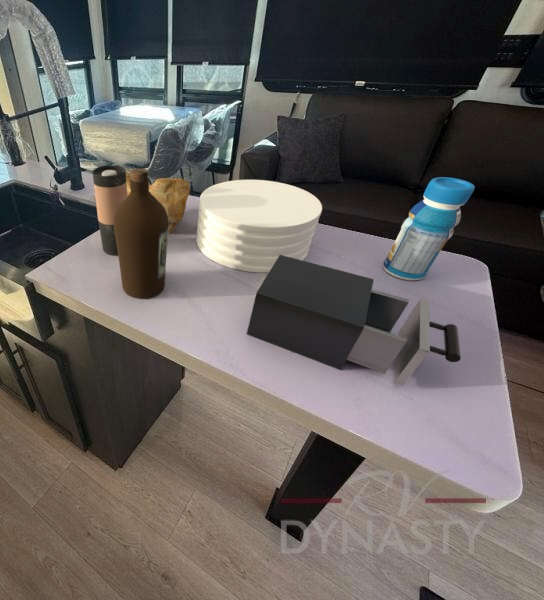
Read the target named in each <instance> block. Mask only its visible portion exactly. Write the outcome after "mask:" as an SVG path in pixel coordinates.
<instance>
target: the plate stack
mask: <svg viewBox="0 0 544 600" xmlns="http://www.w3.org/2000/svg"><path fill="white" fill-rule="evenodd" d="M322 212H323V205H322V202H321V201H320V200H319V199H318V197H317V196H315V195H314V194H312V193H310V192H309V191H307V190H305V189H302V188H300V187H298V186H295V185H291V184H287V183H283V182H278V181H274V180H265V179H235V180H228V181H223V182H220V183H215V184H213V185H211V186H209V187H207V188H206V189H204V190H203V192H202V193H201V194H200V196H199V206H198V219H197V228H196V229H197V230H196V245H197V248H198V249H199V251H200V252H201V253H202V254H203V255H204V256H205V257H206V258H208V259H210V260H211V261H213V262H214V263H217V264H219V265H221V266H224V267H227V268H229V269H233V270H237V271H242V272H247V273H248V272H250V273H269V272H270V270H271V268H272V267H273V265H274V263H275V262H276V260H277V259H278V257H279V255H283V256H287V257H291V258H295V259H298V260H302V261H305V259H306V258H307V256H308V254H309V250H310V247H311V244H312V241H313V238H314V235H315V232H316V228H317V226H318V224H319V221H320V220H319V219H320V217H321V215H322Z"/></svg>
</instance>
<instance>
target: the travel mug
mask: <svg viewBox="0 0 544 600" xmlns="http://www.w3.org/2000/svg"><path fill="white" fill-rule="evenodd" d="M126 172H127V171H126V168H125V167H124V166H121V165H114V164H113V165H112V164H111V165H110V164H109V165H102V166H98V167H96V168H94V169H93V170H92V181H93V188H94V196H95V197H94V198H95V206H96V212H97V221H98V227H99V234H100V239H101V245H102V250H103V252H104V253H105V254H106V255H110V256H118V250H117V244H116V238H115V232H114V216H115V212H116V210H117V208H118V207H119V205H120V204H121V203H122V202H123V201H124V200H125V199H126V197H127V196H128V194H127V181H126Z"/></svg>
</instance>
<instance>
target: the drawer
mask: <svg viewBox="0 0 544 600" xmlns="http://www.w3.org/2000/svg"><path fill="white" fill-rule="evenodd" d="M409 302H410V299H407V298H404V297H402V296H401V297H400V296H398V295H397V296H396V295H392V294H389V293H386V292H383V291H378V290H375V289H372V291H371V296H370V301H369V306H368V311H367V316H366V321H365V326H364V329H363V331H362V332H361V334H360V336H359V338H358V340H357V342H356V343H355V345H354V347H353V349H352V351H351V352H350V354H349V356H348V358H347V360H346V361H348V362H350V363H351V362H352V363H354V364H357V365H360V366H362V367H365V368H367V369H370V370H373V371H375V372H378V373H381V374H386V372H387V371H388V370H389V368H390V367H391V365H392V364H393V363H394V361H395V367H394V376H393V383H394V384H396V385H398V386H401V387H404V385H405V384H406V383H407V381H408V380H409V379H410V378H411V376H412V375H413V374H414V373H415V372H416V370H417V369H418V367H420V365H421V364H422V362H423V361H424V360H425V358H426V357H427V356H428V355H429V353H433V354H437V355H440V356H442V357H443V356H444V358H445V361H448V362H449V363H459V362H460V361H461V347H460V339H459V338H460V337H459V330H458V326H457V325H456V324H452V323H447V324H445V325H444V324H440V323H437V322H433V321H430V301H429V300H428V299H427V300H426V299H423V298H419V300H418V302H417V304H416V305H415V306H414V307H413V309H412V311H411V312H410V314H409V315H408V317H407V318H406V319H405V322H404V323H403V325H402V326H401V328H400V329H399V331H398V332H397V334H394V333H392V330H393V328H394V327H395V325H396V323H397V322H398V320H399V319H400V317H401V316H402V314H403V312H404V311H405V310H406V308H407V306H408V305H409V304H410V303H409ZM430 328H433V329H436V330H439V331H443V344H444V345H443V346H444V349H442V348H439V347H436V346H432V345H431V344H430V343H431V340H430V339H431V337H430V336H431V335H430V333H431V331H430Z"/></svg>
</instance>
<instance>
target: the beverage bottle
mask: <svg viewBox="0 0 544 600" xmlns="http://www.w3.org/2000/svg"><path fill="white" fill-rule="evenodd" d="M475 188H476V187H475V185H474V184H473V183H472V182H470V181H467V180H464V179H460V178H455V177H445V176H444V177H443V176H439V177H434V178H431V180H430V181H429V182H428V184H427V186H426V188H425V190H424V192H423V199H422V200H420V201H419V202H418V203H416V204H415V205H414V206H412V208H411V209H410V210H409V212H408V217H407V218H405V219H404V221H403V222H402V224H401V226H400V231H399V233H398V234H397V237H396V239H395V241H394V243H393V245H392V246H391V248H390V250H389V252H388V254H387V256H386V257H385V259H384V261H383V263H382V267H383V270H384V271H385V272H386V273H388V274H389V275H391V276H393V277H395V278H397V279H400V280H405V281H420V280H423V279H424V278H425V277H426V275H428V272H429V270H430V269H431V267H432V265H433V263H434V262H435V260H436V259H437V258H438V256H439V254H440V253H441V251H442V249H443V248H444V247H445V245H446V243H447V242H448V241H449V240H450V239H451V238H452V236H453V235H454V233H455V232H454V228H455V227H457V226H458V225H459V224H460V222H461V219H462V212H461V206H464V205H465V204H466V203H467V202H468V201H469V199H470V198H471V196H472V194H473V193H474V190H475Z"/></svg>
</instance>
